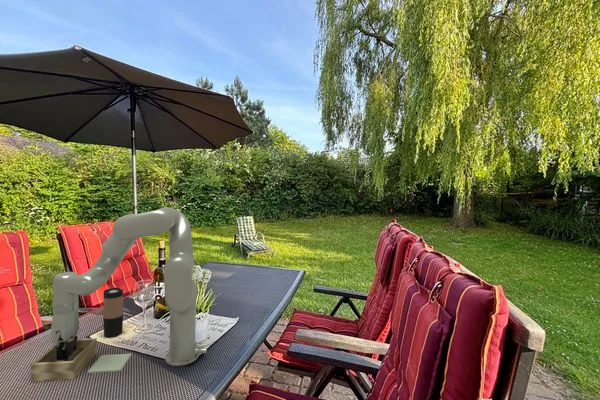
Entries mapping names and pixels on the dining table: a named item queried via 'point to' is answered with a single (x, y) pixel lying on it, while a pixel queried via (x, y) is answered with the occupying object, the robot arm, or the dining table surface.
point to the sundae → (70, 345)
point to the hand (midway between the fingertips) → (66, 354)
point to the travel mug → (113, 312)
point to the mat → (110, 363)
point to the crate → (63, 362)
